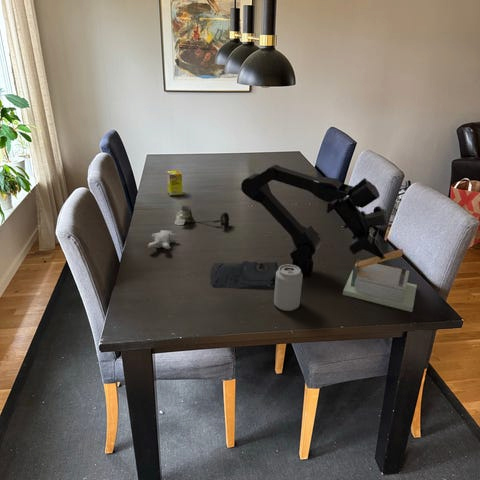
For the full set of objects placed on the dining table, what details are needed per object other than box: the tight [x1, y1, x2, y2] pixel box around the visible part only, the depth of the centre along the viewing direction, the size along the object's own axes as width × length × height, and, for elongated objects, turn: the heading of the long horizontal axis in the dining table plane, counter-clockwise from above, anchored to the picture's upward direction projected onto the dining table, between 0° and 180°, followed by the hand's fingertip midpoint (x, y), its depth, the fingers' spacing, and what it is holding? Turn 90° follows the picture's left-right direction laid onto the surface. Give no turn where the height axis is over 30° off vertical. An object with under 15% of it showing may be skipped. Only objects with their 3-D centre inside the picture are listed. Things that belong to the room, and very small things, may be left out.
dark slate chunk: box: [209, 260, 279, 291], centre depth 138 cm, size 15×22×5 cm
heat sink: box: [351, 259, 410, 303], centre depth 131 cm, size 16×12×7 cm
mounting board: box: [342, 269, 418, 313], centre depth 132 cm, size 20×14×2 cm
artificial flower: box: [174, 205, 230, 230], centre depth 174 cm, size 9×22×10 cm, turn 72°
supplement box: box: [166, 170, 183, 198], centre depth 205 cm, size 6×6×11 cm
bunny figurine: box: [147, 229, 179, 250], centre depth 156 cm, size 10×5×15 cm
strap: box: [354, 248, 404, 268], centre depth 129 cm, size 15×4×1 cm
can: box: [273, 264, 303, 312], centre depth 122 cm, size 8×8×12 cm
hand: (382, 256), depth 128 cm, fingers closed, pressing on strap
